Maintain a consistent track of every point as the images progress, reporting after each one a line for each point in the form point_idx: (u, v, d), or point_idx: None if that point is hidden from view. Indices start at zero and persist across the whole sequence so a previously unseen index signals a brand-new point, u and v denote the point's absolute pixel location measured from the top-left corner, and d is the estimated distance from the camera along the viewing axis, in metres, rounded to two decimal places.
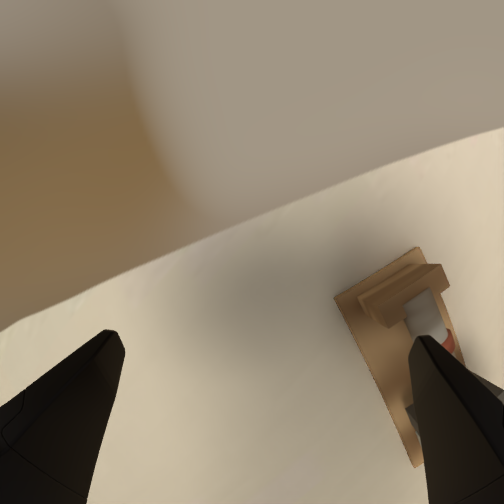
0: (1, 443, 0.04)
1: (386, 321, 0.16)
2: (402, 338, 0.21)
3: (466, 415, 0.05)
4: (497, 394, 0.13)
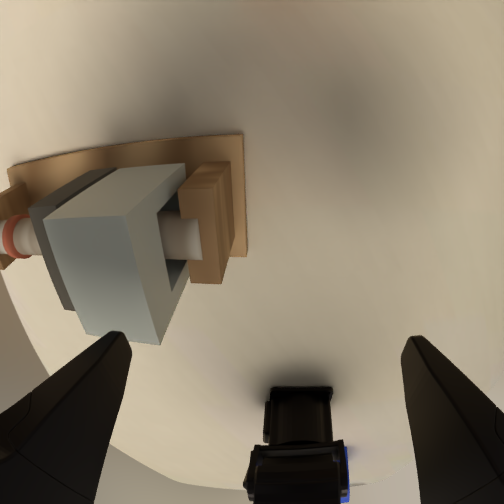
0: (8, 447, 0.04)
1: (0, 268, 0.17)
2: None
3: (457, 417, 0.05)
4: None
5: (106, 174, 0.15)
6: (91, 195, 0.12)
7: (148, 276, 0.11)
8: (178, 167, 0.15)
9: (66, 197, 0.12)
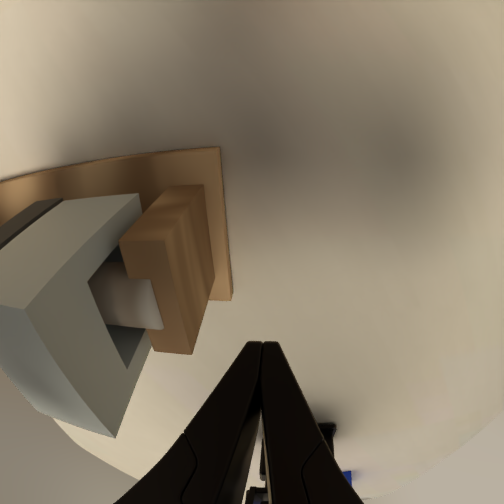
0: None
1: None
2: None
3: None
4: None
5: (47, 210, 0.11)
6: (11, 253, 0.07)
7: (82, 371, 0.07)
8: (127, 201, 0.10)
9: None
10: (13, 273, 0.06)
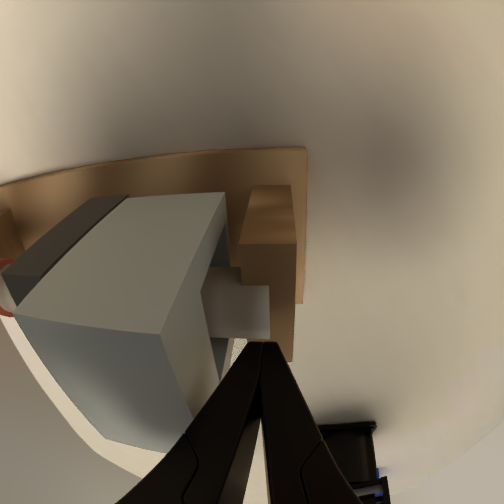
0: None
1: None
2: None
3: None
4: None
5: (115, 207, 0.11)
6: (87, 259, 0.07)
7: (197, 395, 0.07)
8: (218, 201, 0.10)
9: (56, 257, 0.07)
10: (106, 285, 0.06)
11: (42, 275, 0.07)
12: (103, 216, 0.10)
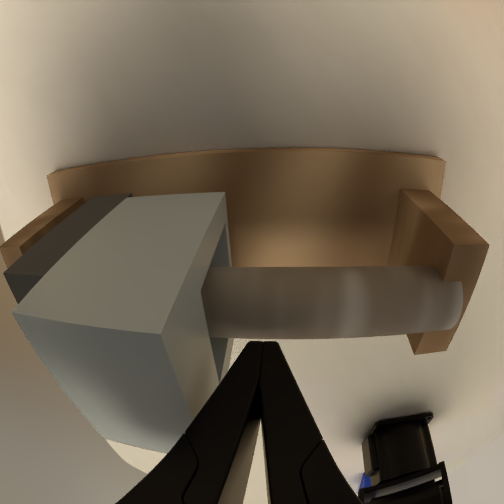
0: None
1: None
2: None
3: None
4: None
5: None
6: (87, 258, 0.07)
7: (197, 395, 0.07)
8: (219, 200, 0.10)
9: (60, 256, 0.07)
10: (107, 284, 0.06)
11: None
12: None
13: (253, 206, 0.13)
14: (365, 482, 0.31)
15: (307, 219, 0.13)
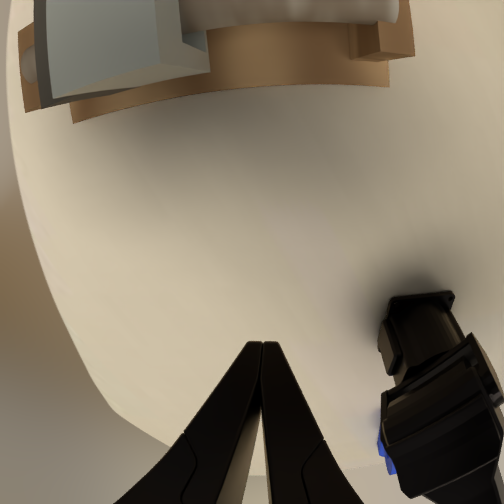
0: None
1: (37, 105, 0.11)
2: None
3: None
4: None
5: None
6: None
7: None
8: None
9: None
10: None
11: None
12: None
13: None
14: None
15: None
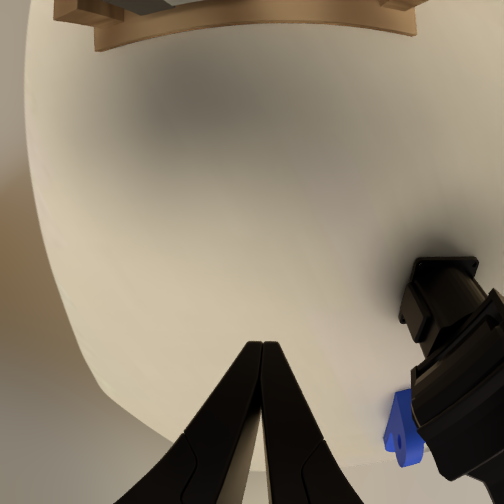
0: None
1: (69, 11, 0.09)
2: None
3: None
4: None
5: None
6: None
7: None
8: None
9: None
10: None
11: None
12: None
13: None
14: (399, 403, 0.28)
15: None
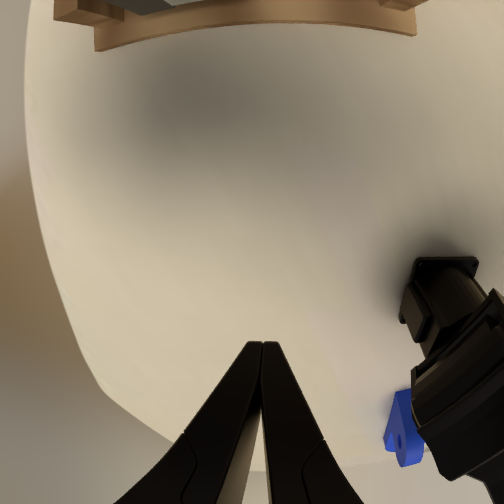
0: None
1: (69, 11, 0.09)
2: None
3: None
4: None
5: None
6: None
7: None
8: None
9: None
10: None
11: None
12: None
13: None
14: (399, 403, 0.28)
15: None
